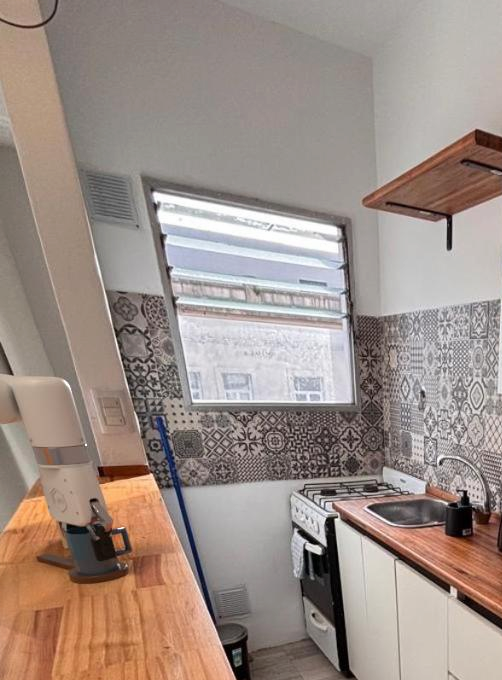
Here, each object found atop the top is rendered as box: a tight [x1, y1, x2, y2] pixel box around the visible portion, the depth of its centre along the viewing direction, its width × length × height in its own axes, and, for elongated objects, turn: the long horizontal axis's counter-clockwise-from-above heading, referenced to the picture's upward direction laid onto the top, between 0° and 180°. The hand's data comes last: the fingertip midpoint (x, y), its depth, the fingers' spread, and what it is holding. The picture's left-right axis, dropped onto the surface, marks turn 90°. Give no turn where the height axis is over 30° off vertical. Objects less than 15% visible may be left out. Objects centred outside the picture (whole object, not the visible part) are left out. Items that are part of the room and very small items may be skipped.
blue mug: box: [63, 525, 133, 575], centre depth 97 cm, size 10×7×8 cm, turn 155°
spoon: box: [35, 552, 129, 584], centre depth 99 cm, size 23×9×1 cm, turn 65°
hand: (94, 555), depth 96 cm, fingers closed on blue mug, 6 cm apart
